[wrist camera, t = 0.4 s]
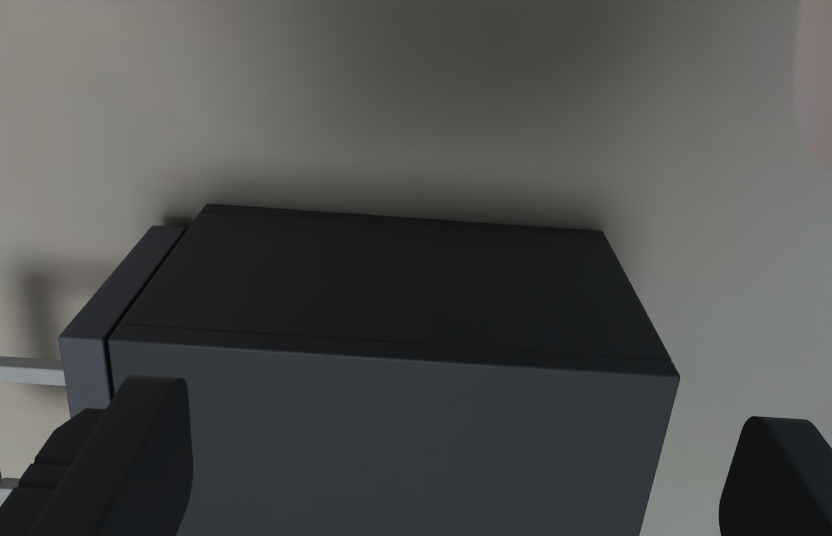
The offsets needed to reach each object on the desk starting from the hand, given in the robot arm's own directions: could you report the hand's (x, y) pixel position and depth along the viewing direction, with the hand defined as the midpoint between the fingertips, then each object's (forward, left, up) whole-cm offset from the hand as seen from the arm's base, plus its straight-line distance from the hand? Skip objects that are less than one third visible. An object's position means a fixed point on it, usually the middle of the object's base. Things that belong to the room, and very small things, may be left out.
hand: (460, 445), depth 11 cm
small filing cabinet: (+10, -1, -17) cm, 20 cm away
